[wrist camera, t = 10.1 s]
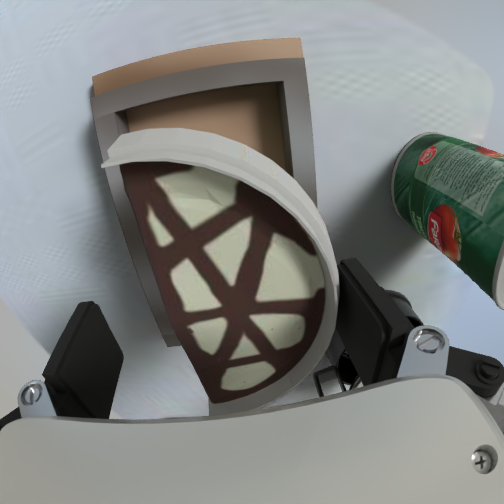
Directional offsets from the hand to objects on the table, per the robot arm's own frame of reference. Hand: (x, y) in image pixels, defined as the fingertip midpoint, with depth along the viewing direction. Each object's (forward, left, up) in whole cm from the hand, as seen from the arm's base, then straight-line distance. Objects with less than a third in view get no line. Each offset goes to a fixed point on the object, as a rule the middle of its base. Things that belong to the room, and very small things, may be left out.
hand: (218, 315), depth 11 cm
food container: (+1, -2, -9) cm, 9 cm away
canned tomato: (+1, -16, -10) cm, 19 cm away
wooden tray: (+1, 0, -9) cm, 9 cm away
